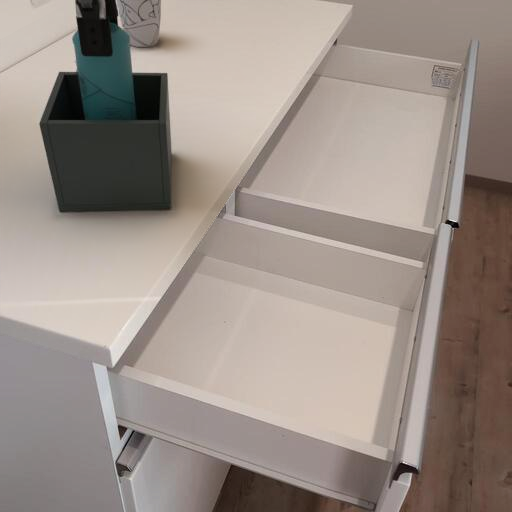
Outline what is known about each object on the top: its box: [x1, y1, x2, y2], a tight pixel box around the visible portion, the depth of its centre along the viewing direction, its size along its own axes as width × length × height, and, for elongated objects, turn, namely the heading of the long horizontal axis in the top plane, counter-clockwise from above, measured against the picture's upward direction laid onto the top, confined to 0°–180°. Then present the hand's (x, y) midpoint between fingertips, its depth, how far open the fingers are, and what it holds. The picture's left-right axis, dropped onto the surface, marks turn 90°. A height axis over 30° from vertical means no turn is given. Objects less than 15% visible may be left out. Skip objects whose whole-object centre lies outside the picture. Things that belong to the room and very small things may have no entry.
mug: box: [116, 0, 162, 48], centre depth 107 cm, size 11×8×10 cm
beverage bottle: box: [72, 0, 137, 120], centre depth 64 cm, size 6×7×20 cm
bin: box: [39, 71, 173, 213], centre depth 69 cm, size 14×14×12 cm
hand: (101, 41), depth 61 cm, fingers closed on beverage bottle, 6 cm apart
